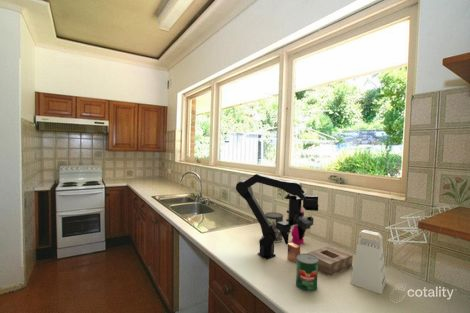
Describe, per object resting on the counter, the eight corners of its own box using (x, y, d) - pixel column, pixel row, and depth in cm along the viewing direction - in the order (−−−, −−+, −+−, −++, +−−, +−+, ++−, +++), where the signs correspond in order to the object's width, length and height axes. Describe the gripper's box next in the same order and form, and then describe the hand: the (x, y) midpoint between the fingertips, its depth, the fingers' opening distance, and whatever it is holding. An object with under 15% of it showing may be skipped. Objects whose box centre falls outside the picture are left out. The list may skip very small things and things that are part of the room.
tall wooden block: (295, 262, 112) (295, 247, 111) (287, 258, 116) (287, 243, 115) (299, 261, 113) (300, 246, 113) (291, 256, 117) (292, 242, 117)
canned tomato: (302, 294, 88) (303, 264, 87) (291, 282, 95) (292, 254, 95) (321, 290, 90) (322, 261, 90) (309, 279, 98) (310, 252, 97)
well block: (329, 276, 100) (330, 264, 100) (306, 263, 110) (306, 253, 110) (352, 266, 109) (352, 255, 109) (328, 255, 119) (329, 245, 119)
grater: (357, 272, 103) (358, 226, 103) (386, 281, 97) (388, 232, 96) (350, 283, 95) (352, 232, 94) (381, 294, 89) (383, 239, 88)
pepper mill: (305, 245, 132) (306, 208, 131) (291, 243, 133) (292, 207, 132) (304, 239, 139) (305, 205, 138) (291, 238, 140) (291, 204, 139)
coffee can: (281, 235, 144) (281, 212, 144) (284, 242, 134) (284, 217, 134) (263, 235, 145) (264, 211, 144) (265, 242, 134) (265, 217, 134)
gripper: (293, 216, 102) (292, 253, 102) (322, 210, 112) (321, 244, 112) (275, 209, 111) (274, 243, 112) (303, 205, 121) (302, 236, 122)
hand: (293, 241), depth 114 cm, fingers open, 9 cm apart
